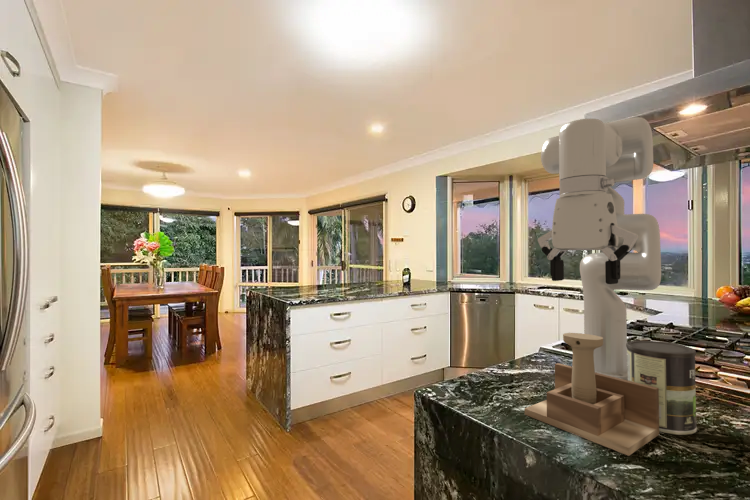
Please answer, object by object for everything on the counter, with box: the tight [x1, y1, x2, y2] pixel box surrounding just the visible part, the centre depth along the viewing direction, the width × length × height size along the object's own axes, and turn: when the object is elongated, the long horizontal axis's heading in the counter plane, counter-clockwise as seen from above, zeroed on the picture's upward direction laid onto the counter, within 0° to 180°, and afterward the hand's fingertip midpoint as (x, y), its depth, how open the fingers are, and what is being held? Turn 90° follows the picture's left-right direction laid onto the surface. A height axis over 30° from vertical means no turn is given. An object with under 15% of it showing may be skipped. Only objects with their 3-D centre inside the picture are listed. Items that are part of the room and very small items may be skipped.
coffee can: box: [626, 339, 698, 436], centre depth 69 cm, size 10×10×14 cm
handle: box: [562, 332, 603, 405], centre depth 68 cm, size 5×6×15 cm
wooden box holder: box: [524, 362, 660, 457], centre depth 68 cm, size 12×18×8 cm, turn 34°
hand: (583, 282), depth 68 cm, fingers open, 9 cm apart
